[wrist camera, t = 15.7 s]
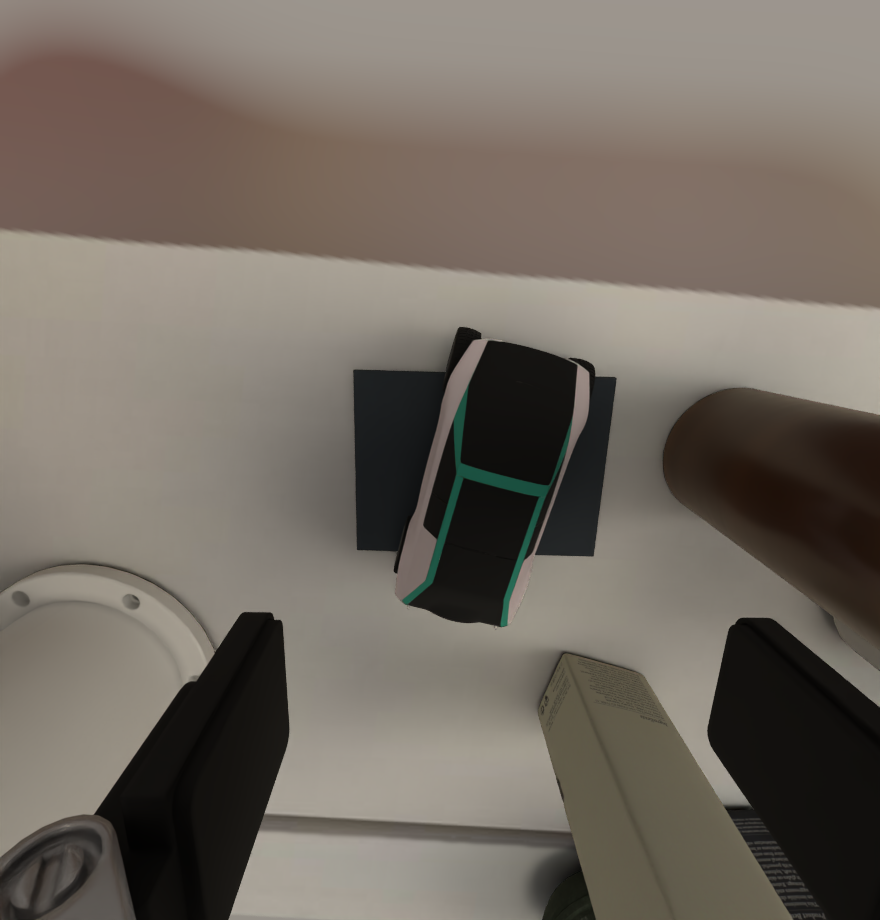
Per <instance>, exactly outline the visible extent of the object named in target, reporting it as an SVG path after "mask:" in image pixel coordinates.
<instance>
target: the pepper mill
mask: <svg viewBox="0 0 880 920" xmlns="http://www.w3.org/2000/svg"><path fill="white" fill-rule="evenodd" d="M663 469H664V475H665V479H666V482H667V484H668V486H669V488H670V490H671V492H672V493H673V495H674V496H675V497H676V498H677V499H678V500H679V501H680V502H681V503H682V504H683V505H685V506H686V507H687V508H689V509H690V510H691V511H693V512H694V513H695V514H697V515H698V516H699V517H701V518H702V519H703V520H705V521H706V522H707V523H709V524H710V525H711V526H713V527H714V528H715V529H717V530H718V531H719V532H721V533H722V534H724V535H725V536H726V537H728V538H729V539H730V540H732V541H733V542H734V543H736V544H737V545H738V546H740V547H741V548H742V549H744V550H745V551H746V552H748V553H749V554H750V555H752V556H753V557H754V558H756V559H757V560H758V561H760V562H761V563H762V564H764V565H765V566H766V567H768V568H769V569H770V570H772V571H773V572H775V573H776V574H777V575H779V576H780V577H781V578H783V579H784V580H785V581H787V582H788V583H789V584H791V585H792V586H793V587H795V588H796V589H797V590H799V591H800V592H801V593H803V594H804V595H805V596H807V597H808V598H809V599H811V600H812V601H813V602H815V603H816V604H817V605H819V606H820V607H821V608H823V609H824V610H825V611H827V612H828V613H830V614H831V615H832V616H834V617H835V618H836V619H838V620H839V621H840V622H842V623H843V624H844V625H846V626H847V627H848V628H850V629H851V630H852V631H854V632H855V633H856V634H858V635H859V636H860V637H862V638H863V639H864V640H866V641H867V642H868V643H870V644H871V645H872V646H874V647H875V648H876V649H878V650H879V651H880V415H877V414H872V413H868V412H863V411H858V410H853V409H848V408H844V407H839V406H834V405H829V404H824V403H820V402H815V401H810V400H805V399H800V398H795V397H791V396H786V395H781V394H776V393H771V392H767V391H762V390H757V389H751V388H732V389H726V390H723V391H719V392H716V393H714V394H711V395H709V396H707V397H705V398H703V399H702V400H700V401H698V402H697V403H696V404H694V405H693V406H691V407H690V408H689V409H688V410H687V411H686V412H685V413H684V414H683V415H682V416H681V417H680V419H679V420H678V421H677V423H676V424H675V426H674V427H673V429H672V431H671V433H670V435H669V437H668V439H667V442H666V445H665V450H664V456H663Z"/></svg>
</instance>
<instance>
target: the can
mask: <svg viewBox="0 0 880 920" xmlns="http://www.w3.org/2000/svg"><path fill="white" fill-rule="evenodd" d="M834 623H835V625H836V627H837V630H838V632H839V634H840V637H841V639H842V640H843V641H845V642H846V643H847V644H848V645H849V646H850V647H851V648H852V649H853V650H854V651H855V652H856V653H858V654H859V655H860V656H862V657H863V658H864V659H865V660H867V661H868V662H869V663H870V664H872V665H873V666H874V667H875V668H877V669H878V670H879V671H880V651H879V650H878V649H876V648H875V647H874V646H872V645H871V644H870V643H868V642H867V641H866V640H864V639H863V638H862V637H860V636H859V635H858V634H856V633H855V632H854V631H852V630H851V629H850V628H848V627H847V626H846V625H844V624H843V623H842V622H840V621H839V620H838V619H836V618H835V617H834Z"/></svg>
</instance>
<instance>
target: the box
mask: <svg viewBox="0 0 880 920" xmlns="http://www.w3.org/2000/svg"><path fill="white" fill-rule="evenodd" d="M538 716H539V719H540V723H541V727H542V730H543V734H544V737H545V741H546V744H547V748H548V751H549V755H550V758H551V762H552V765H553V769H554V772H555V775H556V779H557V783H558V786H559V789H560V794H561V796H562V800H563V803H564V807H565V811H566V815H567V819H568V822H569V826H570V829H571V832H572V836H573V839H574V843H575V847H576V850H577V854H578V857H579V861H580V864H581V868H582V871H583V875H584V879H585V882H586V885H587V889H588V892H589V896H590V900H591V903H592V907H593V911H594V914H595V918H596V920H793V918H792V917H791V915H790V914H789V912H788V910H787V909H786V907H785V905H784V904H783V902H782V901H781V899H780V897H779V896H778V894H777V893H776V891H775V889H774V888H773V886H772V884H771V883H770V881H769V880H768V878H767V876H766V875H765V873H764V871H763V870H762V868H761V867H760V865H759V863H758V862H757V860H756V858H755V857H754V855H753V853H752V852H751V850H750V849H749V847H748V845H747V844H746V842H745V840H744V839H743V837H742V835H741V834H740V832H739V831H738V829H737V827H736V826H735V824H734V822H733V821H732V819H731V817H730V816H729V814H728V813H727V811H726V809H725V808H724V806H723V804H722V803H721V801H720V799H719V798H718V796H717V795H716V793H715V792H714V790H713V788H712V787H711V785H710V783H709V782H708V780H707V778H706V777H705V775H704V773H703V772H702V770H701V769H700V767H699V765H698V764H697V762H696V760H695V759H694V757H693V756H692V754H691V752H690V751H689V749H688V747H687V746H686V744H685V743H684V741H683V739H682V738H681V736H680V734H679V733H678V731H677V730H676V728H675V726H674V725H673V723H672V721H671V720H670V718H669V716H668V715H667V713H666V712H665V710H664V708H663V707H662V705H661V703H660V702H659V700H658V698H657V697H656V695H655V693H654V692H653V690H652V689H651V687H650V685H649V684H648V682H647V680H646V679H645V677H644V676H643V675H641V674H639V673H636V672H633V671H629V670H626V669H623V668H619V667H616V666H612V665H609V664H605V663H601V662H598V661H594V660H590V659H587V658H583V657H579V656H575V655H571V654H563V656H562V658H561V660H560V662H559V664H558V666H557V668H556V671H555V673H554V675H553V677H552V679H551V681H550V684H549V686H548V688H547V690H546V692H545V695H544V697H543V699H542V702H541V704H540V706H539V709H538Z"/></svg>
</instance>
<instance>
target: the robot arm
mask: <svg viewBox="0 0 880 920" xmlns="http://www.w3.org/2000/svg"><path fill="white" fill-rule="evenodd" d="M707 732H708V739H709V742H710V745H711V747H712V749H713V750H714V752H715V753H716V755H717V756H718V758H719V759H720V761H721V762H722V764H723V765H724V767H725V768H726V769H727V771H728V772H729V774H730V775H731V777H732V778H733V780H734V781H735V783H736V784H737V786H738V787H739V789H740V790H741V791H742V793H743V794H744V796H745V797H746V799H747V800H748V802H749V803H750V805H751V806H752V808H753V809H754V811H755V812H756V813H757V815H758V816H759V818H760V819H761V821H762V822H763V824H764V825H765V827H766V828H767V830H768V831H769V832H770V834H771V835H772V837H773V838H774V840H775V841H776V843H777V844H778V846H779V847H780V849H781V850H782V852H783V853H784V854H785V856H786V857H787V859H788V860H789V862H790V863H791V865H792V866H793V868H794V869H795V871H796V872H797V873H798V875H799V876H800V878H801V879H802V881H803V882H804V884H805V885H806V887H807V888H808V890H809V891H810V893H811V894H812V895H813V897H814V898H815V900H816V901H817V903H818V904H819V906H820V907H821V909H822V910H823V912H824V913H825V914H826V916H827V917H828V919H829V920H880V707H878V706H877V705H876V704H875V703H874V702H872V701H871V700H870V699H869V698H868V697H866V696H865V695H864V694H863V693H862V692H860V691H859V690H858V689H857V688H856V687H854V686H853V685H852V684H851V683H850V682H848V681H847V680H846V679H845V678H843V677H842V676H841V675H840V674H839V673H837V672H836V671H835V670H834V669H833V668H831V667H830V666H829V665H828V664H827V663H825V662H824V661H823V660H822V659H821V658H819V657H818V656H817V655H816V654H815V653H813V652H812V651H811V650H810V649H809V648H807V647H806V646H805V645H804V644H803V643H801V642H800V641H799V640H798V639H797V638H795V637H794V636H793V635H792V634H791V633H789V632H788V631H787V630H786V629H785V628H783V627H782V626H781V625H780V624H779V623H777V622H776V621H774V620H773V619H770V618H740V619H738V620H737V622H736V624H735V625H732V626H731V627H730V628H729V631H728V635H727V639H726V644H725V649H724V653H723V658H722V663H721V668H720V672H719V677H718V682H717V686H716V691H715V696H714V700H713V705H712V710H711V714H710V719H709V724H708V730H707ZM288 738H289V714H288V698H287V683H286V668H285V652H284V637H283V624H282V621H281V620H274V617H273V614H272V613H269V612H244V613H242V614H241V615H240V616H239V617H238V619H237V620H236V622H235V623H234V625H233V626H232V628H231V629H230V631H229V632H228V634H227V636H226V637H225V639H224V640H223V642H222V643H221V645H220V646H219V648H218V649H217V651H216V652H215V653H214V649H213V647H212V645H211V643H210V641H209V639H208V637H207V635H206V633H205V631H204V629H203V628H202V627H201V626H200V624H199V623H198V622H197V620H196V619H195V618H194V617H193V615H192V614H191V613H190V612H189V611H188V610H187V609H186V608H185V607H184V606H183V605H182V604H181V603H179V602H178V601H177V600H176V599H175V598H174V597H173V596H171V595H170V594H168V593H167V592H165V591H164V590H162V589H161V588H159V587H158V586H156V585H154V584H153V583H151V582H149V581H146V580H144V579H142V578H140V577H138V576H135V575H133V574H131V573H127V572H124V571H120V570H117V569H113V568H109V567H104V566H95V565H86V564H79V565H62V566H57V567H53V568H49V569H45V570H41V571H38V572H36V573H34V574H32V575H30V576H27V577H25V578H23V579H21V580H20V581H18V582H16V583H15V584H13V585H12V586H10V587H9V588H7V589H6V590H4V591H3V592H1V593H0V920H228V919H229V916H230V913H231V910H232V907H233V904H234V901H235V898H236V895H237V892H238V890H239V887H240V884H241V881H242V878H243V875H244V872H245V869H246V866H247V863H248V860H249V857H250V854H251V851H252V848H253V845H254V842H255V839H256V836H257V833H258V831H259V828H260V825H261V822H262V819H263V816H264V813H265V810H266V807H267V804H268V801H269V798H270V795H271V792H272V789H273V786H274V783H275V780H276V777H277V774H278V771H279V769H280V766H281V763H282V760H283V757H284V754H285V751H286V748H287V744H288Z"/></svg>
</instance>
